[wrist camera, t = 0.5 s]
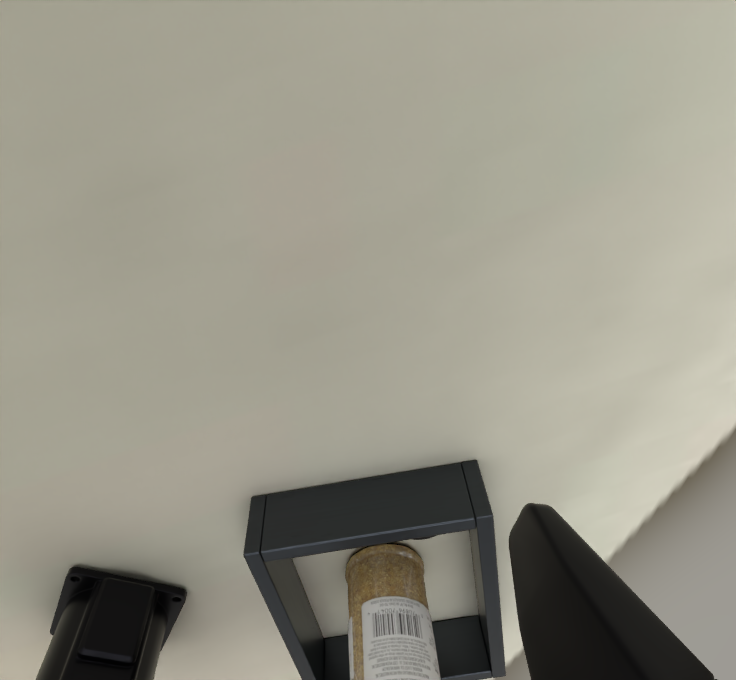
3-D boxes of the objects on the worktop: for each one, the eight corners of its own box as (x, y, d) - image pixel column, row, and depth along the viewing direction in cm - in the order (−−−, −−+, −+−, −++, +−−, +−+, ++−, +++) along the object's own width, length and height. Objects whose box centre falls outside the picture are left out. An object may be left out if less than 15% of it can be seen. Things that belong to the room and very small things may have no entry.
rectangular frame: (314, 646, 38) (313, 704, 35) (250, 496, 30) (242, 555, 27) (492, 619, 37) (505, 676, 34) (476, 459, 29) (493, 515, 26)
